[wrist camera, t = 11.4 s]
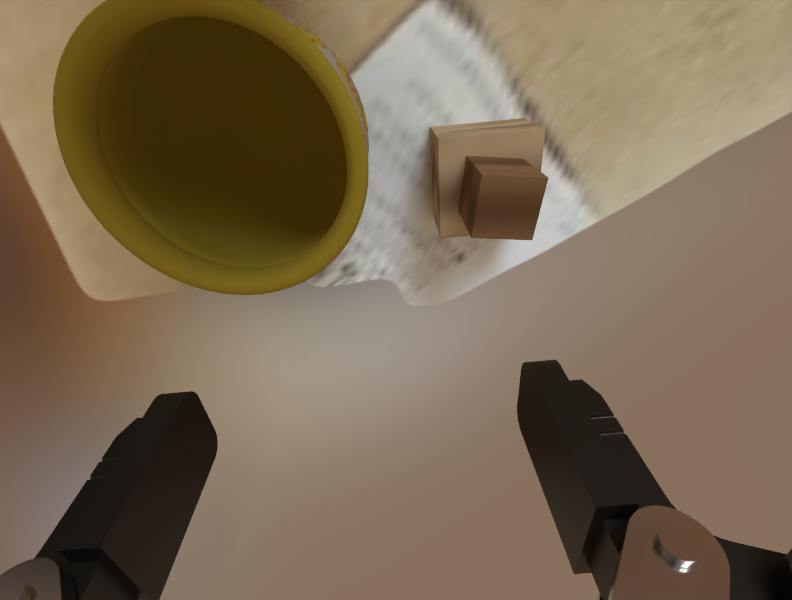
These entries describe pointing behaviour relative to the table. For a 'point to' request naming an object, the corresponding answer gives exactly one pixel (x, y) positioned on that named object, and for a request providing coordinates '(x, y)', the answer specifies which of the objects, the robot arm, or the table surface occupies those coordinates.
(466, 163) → the walnut block
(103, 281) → the table surface
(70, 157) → the flowerpot
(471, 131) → the oak box
